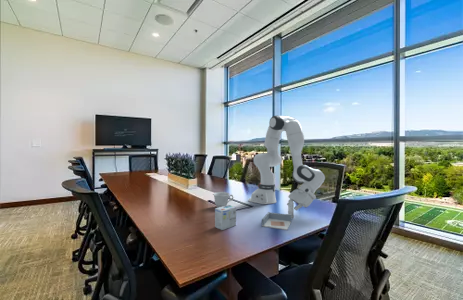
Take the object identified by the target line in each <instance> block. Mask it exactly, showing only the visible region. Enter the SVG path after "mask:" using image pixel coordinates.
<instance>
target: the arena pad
mask: <svg viewBox="0 0 463 300" xmlns="http://www.w3.org/2000/svg"><path fill="white" fill-rule="evenodd" d="M291 223H292V220H291V221H284V220H277V219H270V218H269V220H268V221H267V222H266V223H265V225H262V224H261V227H264V228H265V227H266V228H271V229H278V230H285V231H288V229H289V228H290V225H291Z"/></svg>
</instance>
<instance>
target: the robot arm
mask: <svg viewBox="0 0 463 300" xmlns="http://www.w3.org/2000/svg"><path fill="white" fill-rule="evenodd" d="M268 123H269V125H268V128H267V130H266V134H265V138H264V144H263V145H264V147H265V148H266V150H267V151H266V153H265V152H263V153H262V152H261V153H258V154H255V155H254V157H253V164H254V165H255V167H256V168H257V170H258V171H259V174H260V183H258V184H257V188H256V189H255V190H254V191H253V192H252V193H251V195H250V198H249V197H248V199H247V201H248V202H250V203H256V204H261V205H268V204H277V199H276V184H275V177H276V175H275V173H274V172H272V169H271V167H277V166H279V165H281V164H282V156H281V155H280V152H279V144H280V140H281V134H282V132H285V133H286V134H285V135H286V139H287V143H288V146H289V150H290V153H291V160H292V165H293V169H292V170H293V171H292V179H293V180H294V181H295V182H296V183H300V184H301V183H302V184H301V185H300V186H299V187H298V188H296V189H294V190H293V191H291V192H290V193H289V194H288V199H289V200H290V201H292V202H294V203H296V204H297V205H296V206H294V211H298V210H300V209H301V208H302V207H304V208H308V207H309V206H310V205H311V204H312V203H313V201H315V200H316V199H317V197H316V195H315V192H316V191H317V190H318V189H319V188H320V187H321V186H322V185H323V184H324V182H325V180H326V176H325V174H324V173H323V171H321V170H320V169H316V168H312V167H309V166H308V165H306V164H303V159H302V152H303V148H304V145H305V135H304V131H303V129H302V125H301V123H300V122H299V121H298V119H297V118H295V117H293V116H288V115H272V117H270V119H269V122H268ZM286 205H287V206H288V202H287V204H286Z"/></svg>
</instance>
